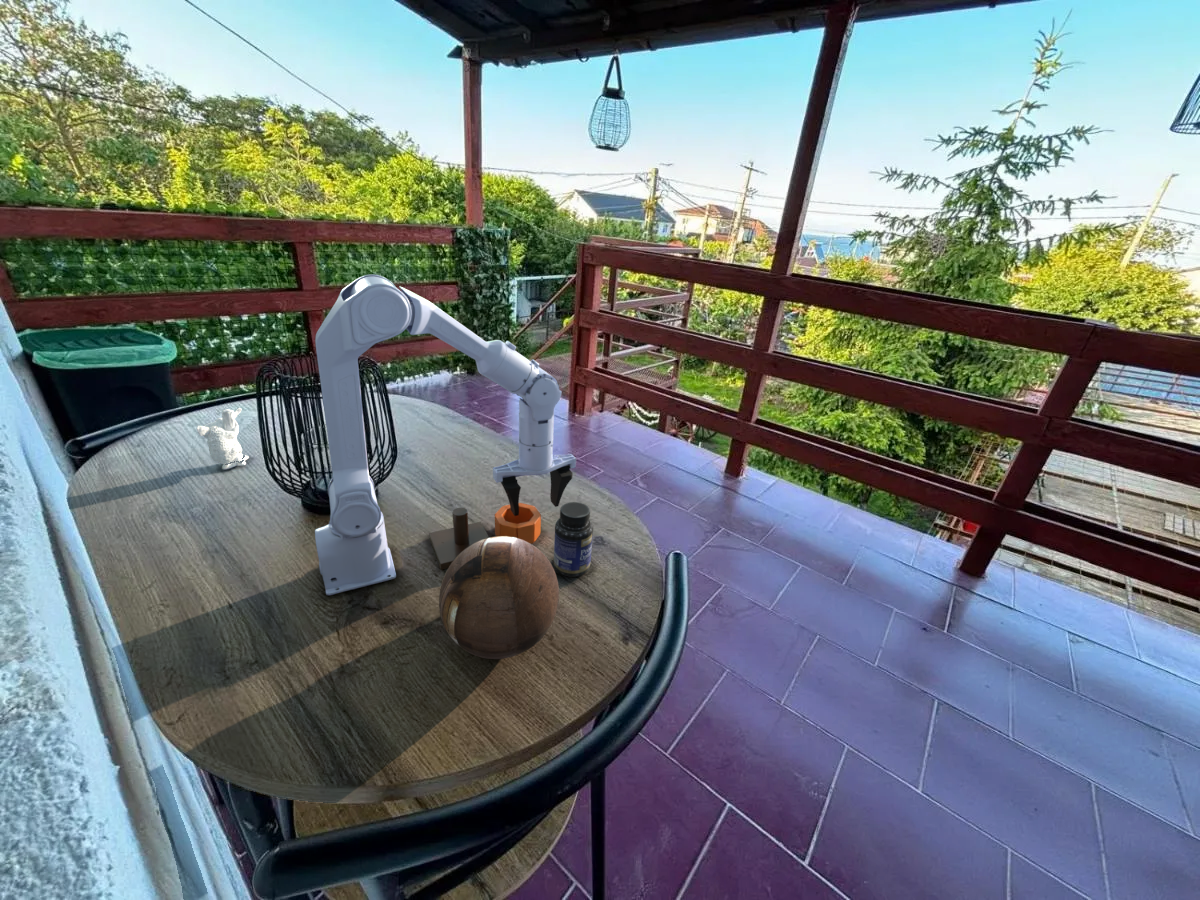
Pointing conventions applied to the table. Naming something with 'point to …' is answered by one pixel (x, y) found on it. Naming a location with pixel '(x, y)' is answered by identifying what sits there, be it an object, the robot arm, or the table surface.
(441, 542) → the peg stand
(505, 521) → the ring
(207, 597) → the table surface
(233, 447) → the white sheep figurine
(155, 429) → the table surface
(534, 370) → the robot arm
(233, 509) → the table surface
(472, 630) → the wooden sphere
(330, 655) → the table surface
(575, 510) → the pill bottle
